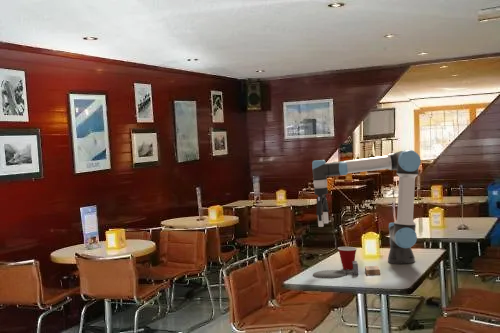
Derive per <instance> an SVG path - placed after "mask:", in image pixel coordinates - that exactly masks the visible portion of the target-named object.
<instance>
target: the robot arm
mask: <svg viewBox="0 0 500 333" xmlns="http://www.w3.org/2000/svg"><path fill="white" fill-rule="evenodd" d="M421 160H422V159H421V157H420V155H419V154H418V153H417V152H416V151H414V150H412V149H404V150H403V149H402V150H400V151H397V152H393V153H392V152H390V153H388V154H387V155H382V156H374V157H373V156H372V157H367V158H359V159H358V158H357V159H348V160H343V161H332V162H326V160H325V159H320V160H319V159H318V160H312V163H311V164H312V167H311V168H312V178H313V182H312V184H313V189H314V190H313V191H314V192H313V193H314V195H316V213H315V215H316V216H317V225H318V228H319V227H320V228H323V227H324V224H329V223H330V222H329V212H330V209H329V204H328V200H327V194H329V190H328V180H327V179H328V178H327V177H337V176H347V175H348V174H354V173H362V172H369V171H372V172H373V171H380V170H387V169H388V170H389V171H396V175H397V176H398V191H397V192H398V195H397V216H396V220H395V221H394V222H389V223H388V232H389V235H388V236H389V248H390V249H389V253H388V256H387V262H388V263H389V264H397V265H402V264H404V265H405V264H411V263H412V264H413V263H414V262H416V257H415V255H414V252H413V249H412V247H413V246H414V245H415V244H416V243H417V241H418V240H417V239H418V237H417V232H416V225H417V224H416V222H415V221H414V209H415V208H414V206H415V188H416V187H415V186H416V177H417V176H419V168H420V165H421Z"/></svg>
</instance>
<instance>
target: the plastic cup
mask: <svg viewBox="0 0 500 333" xmlns="http://www.w3.org/2000/svg"><path fill="white" fill-rule="evenodd" d="M337 250H338V253H339V256H340V262H341V265H342V269H343V271H344V270H345V271H350V270H353V265H352V261H356V253H357V250H358V248H356V247H353V246H339V247H337Z"/></svg>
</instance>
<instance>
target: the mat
mask: <svg viewBox="0 0 500 333" xmlns="http://www.w3.org/2000/svg"><path fill="white" fill-rule="evenodd" d="M346 275H347V271H346V270H345V271H344V270H341V269H340V270H338V269H327V270H318V271H316V272H313V273H312V277H314V278H317V279H335V278H336V279H337V278H341V277H345V276H346Z"/></svg>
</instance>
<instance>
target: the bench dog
mask: <svg viewBox="0 0 500 333" xmlns="http://www.w3.org/2000/svg"><path fill="white" fill-rule="evenodd" d="M352 265H353V269H352V274H353V275H354V276H359V264H358V261H357V260H355V261H352Z"/></svg>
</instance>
